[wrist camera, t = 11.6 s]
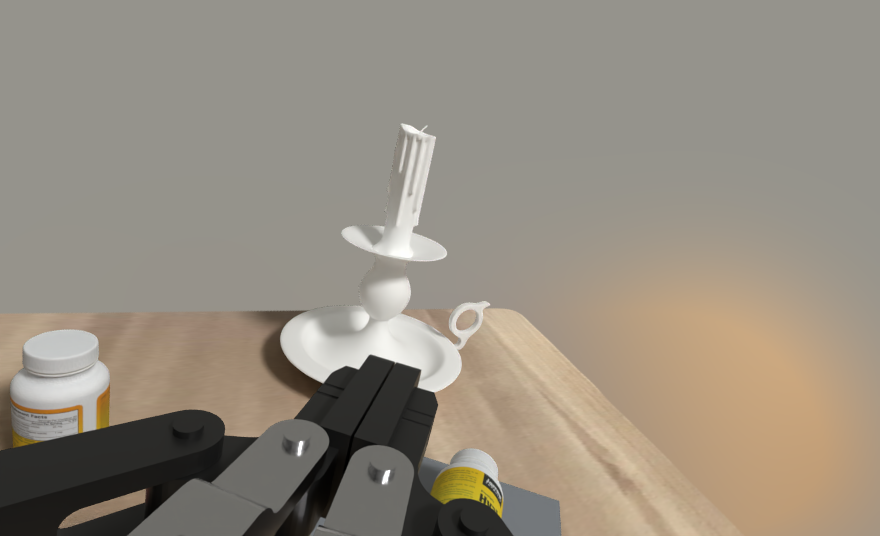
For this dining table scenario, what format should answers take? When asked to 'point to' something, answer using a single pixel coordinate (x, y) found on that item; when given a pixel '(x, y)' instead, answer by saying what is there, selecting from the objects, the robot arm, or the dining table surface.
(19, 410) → the supplement bottle
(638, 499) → the dining table surface
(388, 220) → the candlestick
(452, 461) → the supplement bottle
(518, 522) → the mat
